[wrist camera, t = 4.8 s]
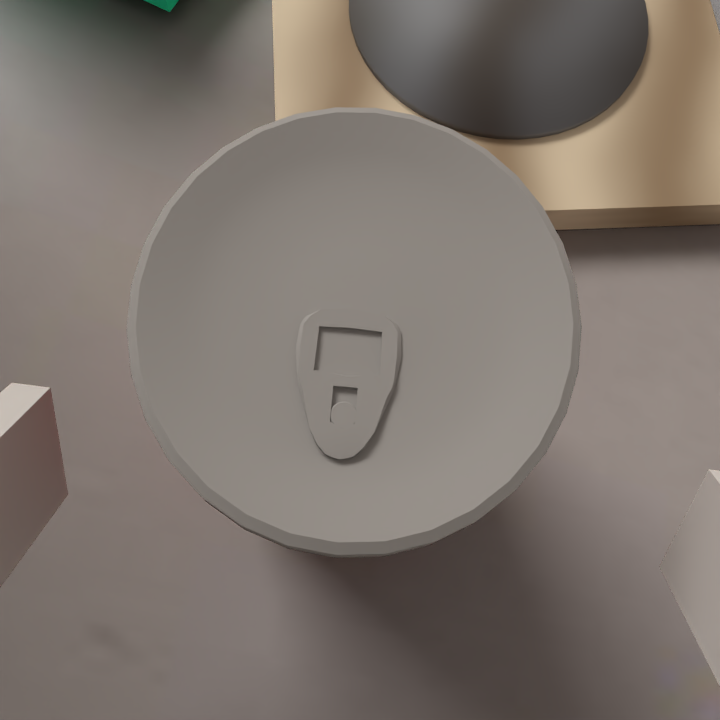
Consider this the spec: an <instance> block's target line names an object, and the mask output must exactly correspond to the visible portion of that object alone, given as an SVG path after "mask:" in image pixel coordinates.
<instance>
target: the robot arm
mask: <svg viewBox="0 0 720 720" xmlns="http://www.w3.org/2000/svg"><path fill="white" fill-rule="evenodd" d="M67 495H68V491H67V485H66V479H65V473H64V467H63V460H62V454H61V448H60V442H59V436H58V430H57V424H56V418H55V412H54V406H53V400H52V394H51V388H50V387H42V386H34V385H25V384H17V383H11V384H10V385H9V386H7V387H6V388H5V389H4V390H3V391H2V392H1V393H0V587H1V586H2V584H3V583H4V582H5V580H6V579H7V578H8V576H9V575H10V573H11V572H12V571H13V569H14V568H15V567H16V565H17V564H18V562H19V561H20V560H21V558H22V557H23V556H24V554H25V553H26V551H27V550H28V549H29V547H30V546H31V545H32V543H33V542H34V540H35V539H36V538H37V536H38V535H39V534H40V532H41V531H42V529H43V528H44V527H45V525H46V524H47V523H48V521H49V520H50V518H51V517H52V516H53V514H54V513H55V512H56V510H57V509H58V507H59V506H60V505H61V503H62V502H63V501H64V499H65V498H66V496H67ZM659 568H660V570H661V571H662V573H663V575H664V577H665V579H666V581H667V583H668V585H669V587H670V589H671V591H672V593H673V595H674V597H675V599H676V601H677V603H678V605H679V607H680V609H681V611H682V613H683V615H684V617H685V619H686V621H687V623H688V625H689V627H690V629H691V631H692V633H693V635H694V637H695V639H696V641H697V642H698V644H699V646H700V648H701V650H702V652H703V654H704V656H705V658H706V660H707V662H708V664H709V666H710V668H711V670H712V672H713V674H714V676H715V678H716V680H717V682H718V684H719V686H720V471H718V470H710V469H709V470H708V472H707V474H706V476H705V478H704V480H703V482H702V484H701V486H700V488H699V490H698V492H697V494H696V496H695V498H694V499H693V501H692V503H691V505H690V507H689V509H688V511H687V513H686V515H685V517H684V519H683V521H682V523H681V525H680V527H679V529H678V531H677V533H676V535H675V537H674V539H673V541H672V543H671V545H670V547H669V549H668V550H667V552H666V554H665V556H664V558H663V560H662V562H661V564H660V566H659Z"/></svg>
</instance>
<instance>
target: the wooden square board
mask: <svg viewBox="0 0 720 720" xmlns="http://www.w3.org/2000/svg"><path fill="white" fill-rule="evenodd" d="M272 12H273V49H274V85H275V121H277V120H280V119H283V118H286V117H289V116H291V115H294V114H298V113H304V112H310V111H317V110H323V109H329V108H335V107H345V108H379V109H384V110H390V111H395V112H400V113H406V114H411V115H416V116H418V117H421V118H424V119H426V120H429V121H432V122H434V123H437V124H440V125H442V126H445V127H448V128H450V129H453V130H454V131H456V132H458V133H459V134H461V135H463V136H465V137H466V138H468V139H470V140H471V141H473V142H475V143H476V144H478V145H480V146H482V147H483V148H485V149H487V150H488V151H489V152H490V153H491V154H492V155H494V156H495V157H496V158H497V159H498V160H499V161H501V162H502V163H503V164H504V165H505V166H507V167H508V168H509V169H510V170H511V171H512V172H514V173H515V174H516V175H517V176H518V177H519V178H520V180H521V181H522V182H523V183H524V185H525V186H526V187H527V188H528V189H529V191H530V192H531V193H532V194H533V196H534V197H535V198H536V199H537V200H538V202H539V203H540V204H541V205H542V207H543V208H544V210H545V212H546V213H547V215H548V217H549V219H550V221H551V223H552V224H553V226H554V228H555V230H569V229H597V228H625V227H652V226H680V225H708V224H720V33H719V30H718V26H717V23H716V20H715V16H714V13H713V9H712V6H711V2H710V0H272Z"/></svg>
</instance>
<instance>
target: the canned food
mask: <svg viewBox="0 0 720 720" xmlns="http://www.w3.org/2000/svg"><path fill="white" fill-rule="evenodd" d="M581 327H582V326H581V318H580V310H579V302H578V294H577V286H576V282H575V279H574V276H573V272H572V269H571V266H570V263H569V260H568V257H567V254H566V251H565V248H564V245H563V243H562V241H561V239H560V237H559V235H558V234H557V232H556V230H555V228H554V226H553V224H552V223H551V221H550V219H549V217H548V215H547V213H546V212H545V210H544V208H543V207H542V205H541V204H540V203H539V202H538V200H537V199H536V198H535V197H534V196H533V194H532V193H531V192H530V191H529V189H528V188H527V187H526V186H525V185H524V183H523V182H522V181H521V180H520V178H519V177H518V176H517V175H516V174H515V173H514V172H512V171H511V170H510V169H509V168H508V167H507V166H505V165H504V164H503V163H502V162H501V161H499V160H498V159H497V158H496V157H495V156H494V155H492V154H491V153H490V152H489V151H488V150H487V149H485V148H483V147H482V146H480V145H478V144H476V143H475V142H473V141H471V140H470V139H468V138H466V137H465V136H463V135H461V134H459V133H458V132H456V131H454V130H453V129H450V128H448V127H445V126H442V125H440V124H437V123H434V122H432V121H429V120H426V119H424V118H421V117H418V116H416V115H411V114H406V113H400V112H395V111H390V110H384V109H379V108H345V107H335V108H329V109H323V110H317V111H310V112H304V113H298V114H294V115H291V116H289V117H286V118H283V119H280V120H277V121H274V122H271V123H269V124H266V125H263V126H260V127H258V128H256V129H254V130H252V131H250V132H249V133H247V134H245V135H243V136H242V137H240V138H238V139H236V140H235V141H233V142H231V143H229V144H228V145H226V146H224V147H222V148H221V149H220V150H219V151H218V152H216V153H215V154H214V155H213V156H212V157H210V158H209V159H208V160H207V161H206V162H204V163H203V164H202V165H201V166H200V167H199V168H197V169H196V170H195V171H194V172H193V173H191V174H190V176H189V177H188V178H187V179H186V181H185V182H184V183H183V184H182V185H181V187H180V188H179V189H178V190H177V191H176V193H175V194H174V195H173V196H172V198H171V199H170V200H169V201H168V202H167V204H166V205H165V206H164V208H163V210H162V212H161V213H160V215H159V217H158V219H157V221H156V223H155V225H154V226H153V228H152V230H151V232H150V234H149V236H148V237H147V239H146V241H145V243H144V246H143V249H142V252H141V255H140V258H139V262H138V265H137V268H136V271H135V274H134V278H133V281H132V284H131V292H130V301H129V311H128V321H127V339H128V349H129V358H130V368H131V376H132V379H133V382H134V385H135V389H136V392H137V395H138V398H139V401H140V404H141V407H142V410H143V414H144V417H145V420H146V421H147V423H148V425H149V427H150V428H151V430H152V432H153V434H154V435H155V437H156V439H157V441H158V442H159V444H160V446H161V448H162V449H163V451H164V453H165V455H166V456H167V458H168V460H169V461H170V462H171V464H172V465H173V466H174V467H175V468H176V469H177V470H178V471H179V472H180V474H181V475H182V476H183V477H184V478H185V479H186V480H187V481H188V482H189V484H190V485H191V486H192V487H193V488H194V489H195V490H196V491H197V493H198V494H199V495H200V496H201V497H202V498H203V499H204V500H205V501H206V502H207V503H208V504H210V505H211V506H213V507H214V508H215V509H217V510H218V511H220V512H221V513H222V514H224V515H225V516H227V517H228V518H229V519H231V520H232V521H233V522H235V523H236V524H238V525H239V526H240V527H242V528H243V529H245V530H247V531H249V532H251V533H254V534H256V535H258V536H261V537H263V538H265V539H268V540H270V541H272V542H274V543H277V544H279V545H281V546H284V547H286V548H288V549H293V550H298V551H303V552H309V553H314V554H319V555H324V556H329V557H334V558H346V557H384V556H388V555H392V554H396V553H400V552H404V551H408V550H412V549H416V548H420V547H424V546H428V545H431V544H433V543H435V542H437V541H439V540H441V539H443V538H445V537H447V536H449V535H451V534H453V533H455V532H457V531H459V530H461V529H463V528H465V527H468V526H470V525H472V524H473V523H474V522H476V521H478V520H479V519H480V518H481V517H483V516H484V515H485V514H487V513H488V512H489V511H490V510H492V509H493V508H494V507H495V506H497V505H498V504H499V503H500V502H502V501H503V500H504V499H505V498H507V497H508V496H509V495H510V494H512V493H513V492H514V491H515V490H516V489H517V488H518V487H519V486H520V484H521V483H522V482H523V481H524V479H525V478H526V477H527V476H528V475H529V473H530V472H531V471H532V470H533V468H534V467H535V466H536V465H537V464H538V462H539V461H540V460H541V459H542V458H543V456H544V455H545V454H546V452H547V450H548V448H549V446H550V444H551V442H552V440H553V438H554V436H555V434H556V432H557V430H558V429H559V427H560V425H561V423H562V421H563V419H564V417H565V415H566V413H567V409H568V406H569V402H570V398H571V395H572V391H573V388H574V384H575V381H576V377H577V374H578V369H579V355H580V341H581Z"/></svg>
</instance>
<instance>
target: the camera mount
mask: <svg viewBox="0 0 720 720" xmlns="http://www.w3.org/2000/svg"><path fill="white" fill-rule="evenodd" d="M144 1H146V2H148V3H151V4H153V5H155V6H157V7H159V8H162V9H164V10H166V11H168V12H170V11H171V10H172V9H173V7H174V6H175V5H176V3H177V2H178V1H179V0H144Z"/></svg>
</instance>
